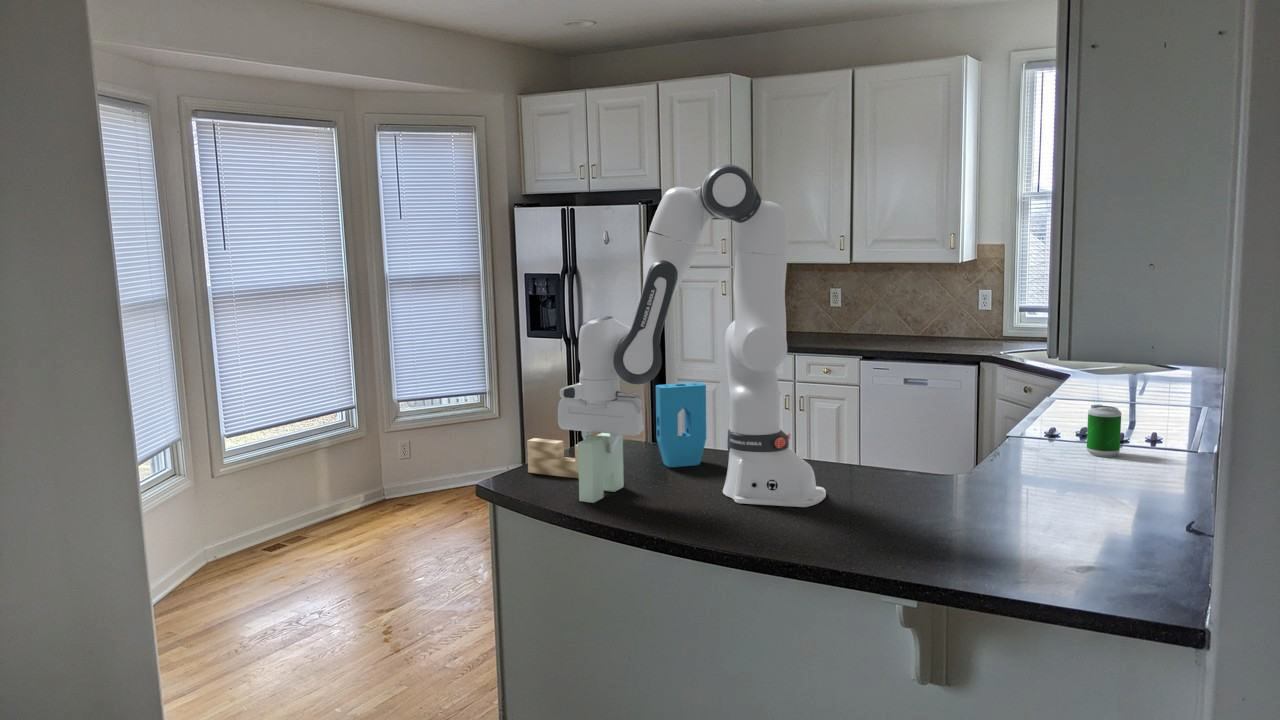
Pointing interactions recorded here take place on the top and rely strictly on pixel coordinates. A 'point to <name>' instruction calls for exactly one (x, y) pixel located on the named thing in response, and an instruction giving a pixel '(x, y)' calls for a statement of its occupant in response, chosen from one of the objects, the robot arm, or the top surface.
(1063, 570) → the top surface
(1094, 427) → the soda can
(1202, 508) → the top surface
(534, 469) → the oak board
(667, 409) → the block
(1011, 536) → the top surface
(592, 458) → the sage plate
